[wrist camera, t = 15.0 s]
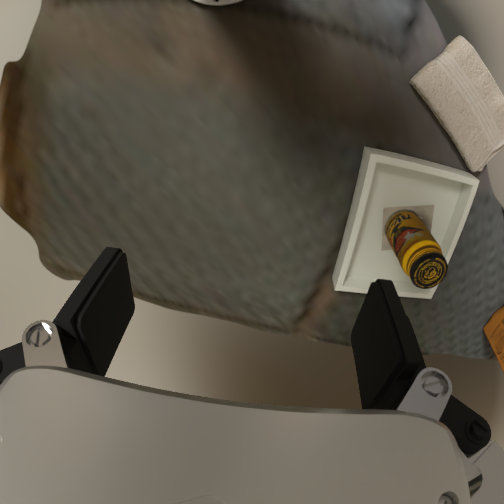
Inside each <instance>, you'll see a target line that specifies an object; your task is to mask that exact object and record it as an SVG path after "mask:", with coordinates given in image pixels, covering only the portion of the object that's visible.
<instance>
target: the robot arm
mask: <svg viewBox="0 0 504 504" xmlns="http://www.w3.org/2000/svg"><path fill="white" fill-rule="evenodd" d="M193 1H195V2H198V3H200V4H205V5H210V6H224V5H231V4H235V3H239V2H241V1H243V0H219V1H218V2H216V0H193ZM134 310H135V304H134V298H133V293H132V287H131V282H130V276H129V270H128V264H127V257H126V254H125V253H123V252H122V250H121V249H120V248H112V247H106V248H105V249H104V251H103V252H102V253H101V255H100V256H99V257H98V259H97V260H96V261H95V263H94V264H93V265H92V267H91V268H90V269H89V271H88V272H87V274H86V275H85V276H84V278H83V279H82V280H81V281H80V283H79V284H78V286H77V287H76V288H75V290H74V291H73V293H72V294H71V295H70V297H69V298H68V300H67V301H66V303H65V304H64V306H63V307H62V309H61V310H60V312H59V313H58V315H57V316H56V318H55V319H54V321H53V322H50V321H47V320H40V321H36V322H34V323H32V324H30V325H29V326H28V327H27V328H26V329H25V331H24V333H23V335H22V342H21V343H18V344H16V345H13V346H11V347H8V348H6V349H3V350H1V351H0V504H504V451H503V450H502V448H501V447H500V446H499V444H498V443H497V442H496V441H494V442H492V441H491V440H490V438H491V429H490V426H489V424H488V423H487V421H486V420H485V419H484V418H482V417H481V416H480V415H478V414H477V413H476V412H474V411H473V410H472V409H470V408H468V407H467V406H466V405H464V404H463V403H462V402H460V401H459V400H458V399H456V398H455V397H453V396H452V395H451V392H452V384H451V382H450V379H449V378H448V376H447V375H446V374H445V373H444V372H442V371H441V370H439V369H436V368H431V367H430V368H426V366H425V363H424V360H423V357H422V354H421V351H420V348H419V345H418V342H417V339H416V336H415V334H414V331H413V328H412V325H411V323H410V320H409V318H408V316H406V314H405V312H404V309H403V306H402V304H401V301H400V299H399V296H398V294H397V291H396V289H395V286H394V284H393V282H392V280H386V279H377V280H376V281H375V282H372V283H371V285H370V287H369V290H368V292H367V295H366V297H365V300H364V303H363V305H362V308H361V310H360V313H359V315H358V317H357V320H356V322H355V325H354V327H353V329H352V333H351V342H352V348H353V353H354V358H355V365H356V371H357V377H358V383H359V390H360V396H361V403H362V409H331V408H328V409H327V408H305V407H289V406H277V405H265V404H255V403H246V402H245V403H244V402H237V401H229V400H222V399H221V400H220V399H214V398H208V397H201V396H195V395H189V394H183V393H177V392H172V391H166V390H161V389H156V388H151V387H147V386H142V385H137V384H133V383H129V382H124V381H120V380H116V379H111V378H107V377H104V376H105V375H106V372H107V370H108V368H109V365H110V363H111V361H112V359H113V356H114V354H115V352H116V350H117V348H118V345H119V343H120V341H121V339H122V336H123V335H124V332H125V330H126V328H127V326H128V324H129V321H130V320H131V317H132V316H133V313H134Z"/></svg>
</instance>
